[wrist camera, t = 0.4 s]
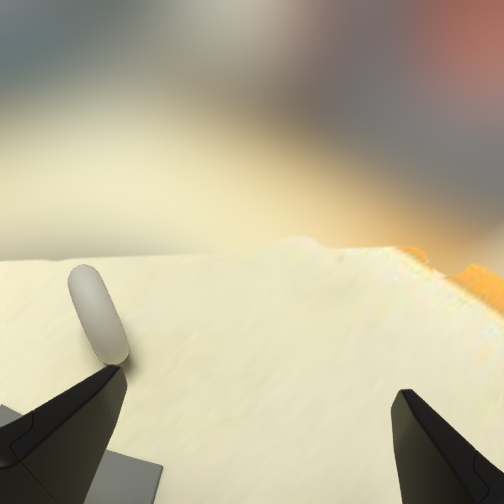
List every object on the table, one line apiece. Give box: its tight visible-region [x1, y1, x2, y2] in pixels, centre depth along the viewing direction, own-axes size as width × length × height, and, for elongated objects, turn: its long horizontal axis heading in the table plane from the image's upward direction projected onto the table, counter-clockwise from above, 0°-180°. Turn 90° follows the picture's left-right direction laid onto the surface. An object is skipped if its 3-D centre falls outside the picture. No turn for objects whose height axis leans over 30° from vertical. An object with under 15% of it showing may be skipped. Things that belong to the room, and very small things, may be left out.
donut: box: [68, 264, 129, 365], centre depth 28 cm, size 10×4×10 cm, turn 37°
